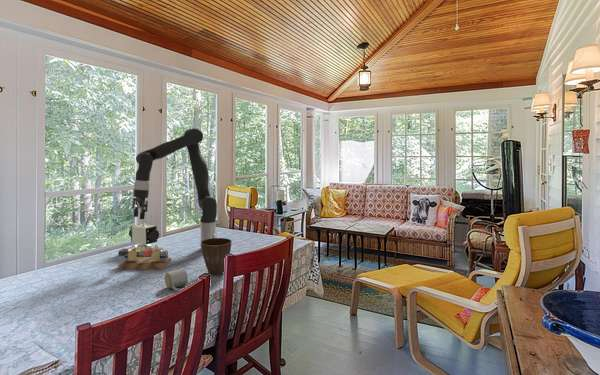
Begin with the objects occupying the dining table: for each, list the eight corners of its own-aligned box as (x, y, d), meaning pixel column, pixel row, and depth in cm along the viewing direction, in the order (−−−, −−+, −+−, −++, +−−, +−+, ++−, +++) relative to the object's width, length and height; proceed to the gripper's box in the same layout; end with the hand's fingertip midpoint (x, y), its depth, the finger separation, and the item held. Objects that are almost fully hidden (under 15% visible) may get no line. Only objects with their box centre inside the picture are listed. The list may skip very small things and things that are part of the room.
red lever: (160, 248, 181) (160, 243, 181) (148, 256, 166) (148, 251, 166) (155, 248, 181) (155, 243, 181) (143, 256, 166) (143, 251, 166)
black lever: (137, 247, 181) (137, 243, 180) (123, 256, 166) (123, 251, 165) (133, 247, 181) (132, 243, 180) (118, 256, 165) (118, 251, 165)
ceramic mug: (163, 286, 151) (163, 269, 150) (181, 282, 156) (181, 266, 156) (173, 294, 143) (172, 276, 142) (191, 289, 148) (191, 272, 148)
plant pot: (236, 269, 175) (236, 238, 174) (223, 279, 161) (223, 246, 159) (210, 266, 178) (209, 237, 177) (195, 276, 164) (194, 244, 163)
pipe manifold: (168, 260, 183) (168, 247, 182) (165, 262, 178) (164, 249, 177) (127, 260, 182) (126, 247, 182) (122, 262, 177) (122, 249, 177)
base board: (171, 261, 188) (171, 257, 187) (162, 269, 174) (161, 265, 174) (131, 261, 187) (131, 257, 187) (118, 269, 173) (118, 265, 173)
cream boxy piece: (161, 252, 205) (161, 223, 203) (150, 255, 197) (149, 225, 196) (141, 248, 213) (140, 220, 211) (129, 251, 205) (128, 223, 203)
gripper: (153, 190, 184) (151, 220, 185) (143, 187, 194) (140, 215, 194) (139, 189, 179) (136, 220, 179) (129, 187, 188) (126, 216, 189)
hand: (138, 217), depth 187 cm, fingers open, 8 cm apart
